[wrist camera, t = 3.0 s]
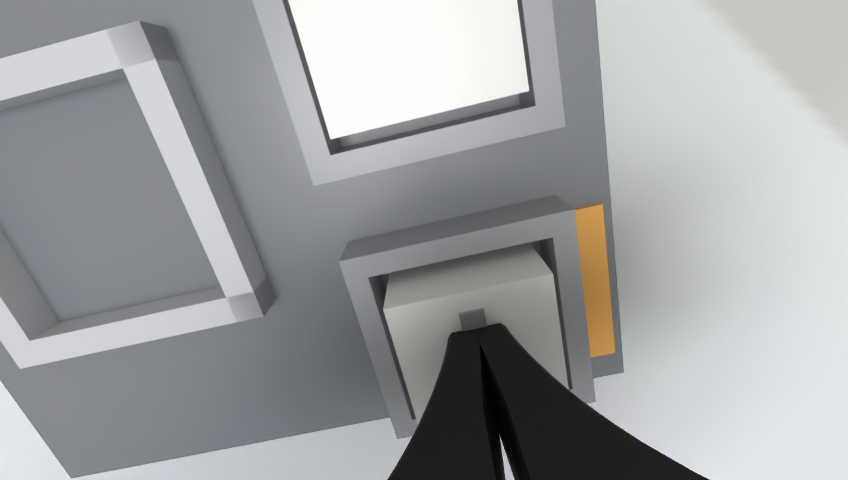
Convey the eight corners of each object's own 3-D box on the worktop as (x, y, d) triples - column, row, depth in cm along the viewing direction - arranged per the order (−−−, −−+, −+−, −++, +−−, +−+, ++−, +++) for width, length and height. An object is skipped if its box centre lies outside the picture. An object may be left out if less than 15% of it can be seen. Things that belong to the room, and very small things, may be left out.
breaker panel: (604, 345, 15) (671, 438, 11) (101, 444, 16) (-3, 558, 12) (555, -169, 10) (649, -351, 6) (-166, 39, 11) (-493, 7, 7)
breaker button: (543, 352, 13) (573, 412, 10) (421, 376, 13) (422, 440, 11) (525, 237, 11) (554, 275, 9) (390, 266, 12) (382, 311, 9)
